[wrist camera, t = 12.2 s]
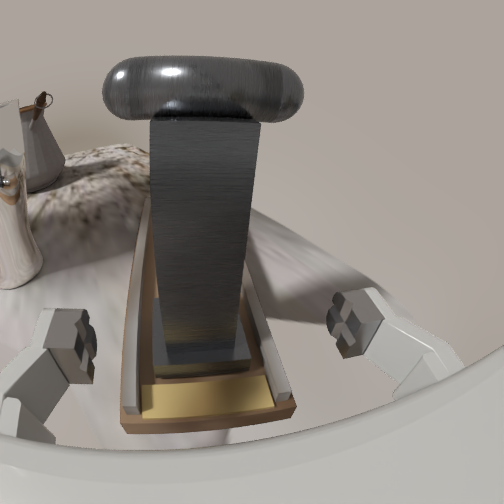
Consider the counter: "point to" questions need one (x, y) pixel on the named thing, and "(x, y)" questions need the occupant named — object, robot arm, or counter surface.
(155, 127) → the handle
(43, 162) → the coffee pot
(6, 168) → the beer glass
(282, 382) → the track
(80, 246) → the counter surface
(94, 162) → the counter surface
